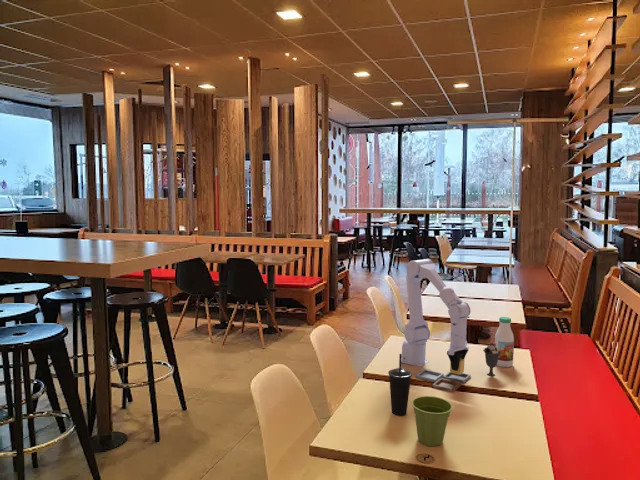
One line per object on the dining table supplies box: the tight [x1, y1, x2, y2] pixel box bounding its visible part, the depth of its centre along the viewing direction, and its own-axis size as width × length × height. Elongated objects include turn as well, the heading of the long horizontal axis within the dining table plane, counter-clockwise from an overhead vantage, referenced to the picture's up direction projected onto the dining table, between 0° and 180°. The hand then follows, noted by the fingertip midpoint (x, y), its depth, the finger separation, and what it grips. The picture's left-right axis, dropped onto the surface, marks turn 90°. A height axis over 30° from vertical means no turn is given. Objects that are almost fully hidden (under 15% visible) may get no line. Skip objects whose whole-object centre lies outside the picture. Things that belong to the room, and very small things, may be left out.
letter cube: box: [449, 359, 465, 375], centre depth 197 cm, size 4×4×5 cm
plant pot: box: [411, 395, 454, 447], centre depth 150 cm, size 12×12×11 cm
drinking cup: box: [387, 353, 413, 417], centre depth 168 cm, size 8×8×20 cm
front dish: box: [431, 377, 462, 393], centre depth 190 cm, size 8×8×2 cm
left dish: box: [415, 368, 445, 383], centre depth 199 cm, size 8×8×2 cm
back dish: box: [442, 371, 472, 385], centre depth 198 cm, size 8×8×2 cm
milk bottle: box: [493, 316, 515, 368], centre depth 213 cm, size 8×8×20 cm
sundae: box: [482, 337, 501, 377], centre depth 201 cm, size 7×7×15 cm
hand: (457, 368), depth 197 cm, fingers closed on letter cube, 4 cm apart
